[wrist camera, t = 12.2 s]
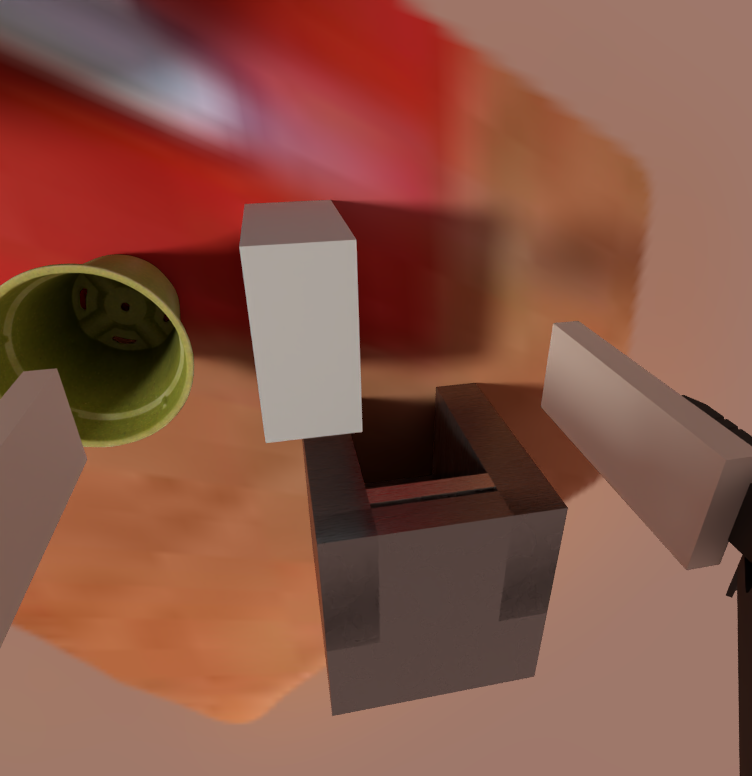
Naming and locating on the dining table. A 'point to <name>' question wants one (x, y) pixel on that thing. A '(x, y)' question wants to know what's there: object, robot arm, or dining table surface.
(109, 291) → the plant pot
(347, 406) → the upright grey box
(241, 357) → the dining table surface
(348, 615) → the box
